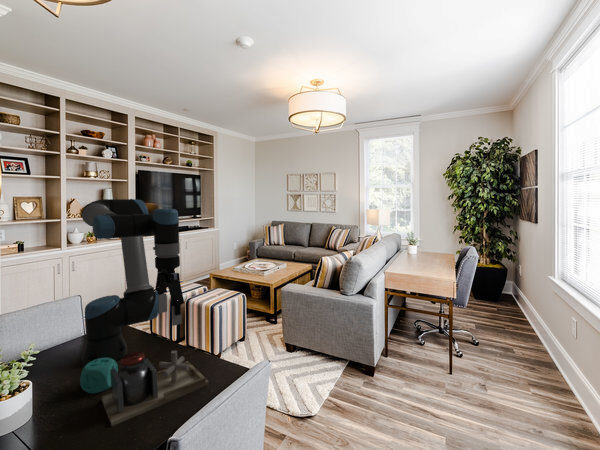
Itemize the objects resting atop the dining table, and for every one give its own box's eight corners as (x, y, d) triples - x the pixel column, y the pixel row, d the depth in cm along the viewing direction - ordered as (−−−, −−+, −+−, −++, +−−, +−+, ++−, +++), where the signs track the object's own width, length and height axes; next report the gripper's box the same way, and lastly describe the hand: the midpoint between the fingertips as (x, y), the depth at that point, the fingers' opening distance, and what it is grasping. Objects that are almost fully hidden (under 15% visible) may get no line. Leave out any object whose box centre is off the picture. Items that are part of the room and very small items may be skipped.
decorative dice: (107, 392, 98) (106, 368, 97) (80, 395, 96) (78, 371, 96) (118, 378, 106) (117, 356, 105) (93, 380, 104) (92, 358, 104)
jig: (101, 400, 94) (101, 391, 93) (190, 366, 112) (190, 359, 112) (111, 426, 82) (111, 417, 82) (208, 384, 101) (208, 376, 101)
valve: (112, 400, 93) (109, 357, 92) (148, 386, 100) (146, 346, 99) (119, 417, 86) (116, 370, 85) (158, 401, 93) (155, 357, 92)
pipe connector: (179, 391, 96) (179, 360, 95) (151, 387, 97) (150, 357, 97) (195, 373, 106) (195, 346, 105) (169, 371, 107) (169, 343, 107)
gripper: (144, 251, 106) (146, 310, 108) (168, 263, 88) (171, 333, 90) (166, 249, 111) (168, 305, 113) (193, 259, 93) (195, 326, 95)
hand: (169, 318), depth 102 cm, fingers open, 13 cm apart
